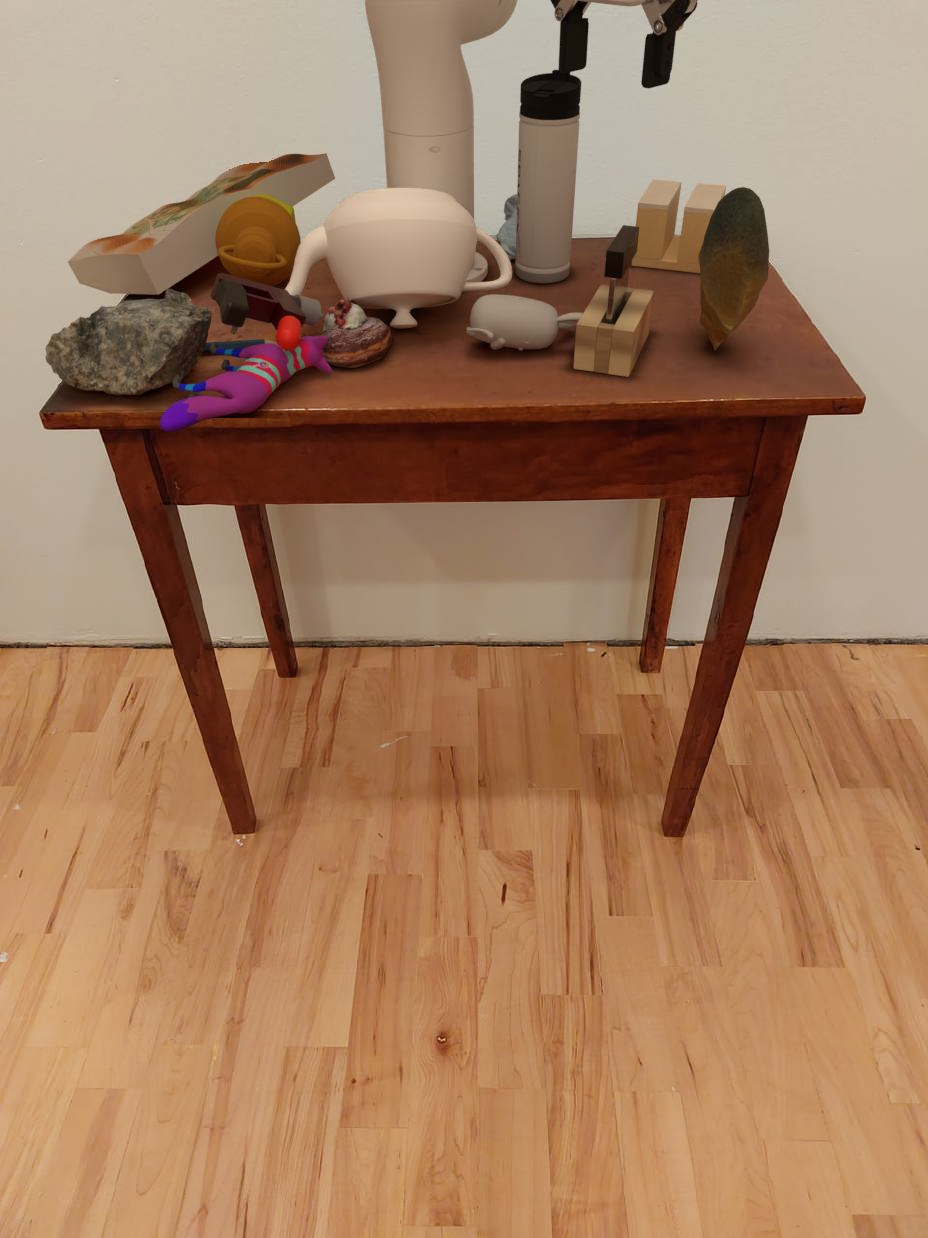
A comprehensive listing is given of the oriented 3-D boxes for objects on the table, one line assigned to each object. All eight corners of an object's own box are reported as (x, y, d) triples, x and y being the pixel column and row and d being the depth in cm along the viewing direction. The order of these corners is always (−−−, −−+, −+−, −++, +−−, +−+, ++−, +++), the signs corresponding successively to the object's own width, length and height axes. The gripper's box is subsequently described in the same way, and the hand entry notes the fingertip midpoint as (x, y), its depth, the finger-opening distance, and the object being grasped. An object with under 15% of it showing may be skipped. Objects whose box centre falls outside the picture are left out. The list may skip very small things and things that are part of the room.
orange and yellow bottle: (226, 248, 114) (202, 303, 94) (231, 169, 109) (207, 208, 89) (299, 262, 116) (292, 318, 95) (308, 185, 111) (301, 227, 91)
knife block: (628, 377, 86) (634, 331, 83) (572, 369, 88) (576, 323, 85) (648, 334, 93) (654, 290, 90) (596, 327, 95) (600, 283, 92)
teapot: (534, 180, 86) (537, 317, 89) (488, 218, 101) (492, 334, 103) (263, 173, 80) (275, 320, 83) (256, 214, 95) (266, 337, 97)
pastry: (322, 334, 94) (317, 285, 90) (396, 334, 94) (393, 285, 90) (310, 370, 88) (303, 319, 84) (388, 370, 88) (385, 319, 84)
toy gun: (322, 295, 89) (303, 339, 92) (205, 262, 81) (189, 311, 84) (362, 348, 84) (341, 393, 86) (241, 318, 76) (222, 369, 78)
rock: (28, 269, 78) (78, 281, 88) (30, 387, 81) (78, 387, 91) (191, 286, 78) (224, 297, 88) (188, 404, 81) (220, 402, 91)
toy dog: (248, 346, 91) (343, 360, 89) (150, 444, 79) (257, 463, 77) (241, 310, 89) (339, 323, 86) (138, 406, 76) (248, 424, 74)
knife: (612, 367, 88) (624, 251, 81) (596, 365, 88) (606, 250, 81) (627, 337, 93) (639, 226, 86) (611, 335, 93) (622, 224, 86)
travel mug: (578, 267, 107) (591, 71, 94) (558, 287, 103) (569, 84, 90) (528, 259, 109) (535, 67, 96) (506, 279, 105) (510, 79, 92)
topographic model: (158, 294, 98) (135, 248, 95) (85, 292, 106) (61, 250, 103) (335, 178, 113) (320, 135, 110) (258, 185, 121) (242, 145, 118)
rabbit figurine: (469, 329, 86) (593, 347, 87) (473, 278, 87) (597, 297, 88) (460, 357, 92) (577, 374, 93) (465, 309, 93) (580, 326, 94)
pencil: (130, 354, 91) (283, 345, 92) (128, 358, 90) (282, 349, 91) (127, 346, 90) (281, 336, 91) (126, 350, 89) (281, 340, 91)
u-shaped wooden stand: (631, 265, 108) (638, 201, 103) (645, 240, 114) (653, 178, 109) (705, 274, 105) (715, 209, 101) (716, 247, 112) (726, 185, 107)
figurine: (570, 210, 115) (561, 164, 110) (560, 281, 110) (550, 237, 105) (510, 218, 118) (497, 173, 112) (498, 287, 113) (484, 244, 107)
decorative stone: (674, 330, 94) (697, 173, 84) (732, 328, 94) (762, 171, 84) (699, 374, 87) (728, 207, 77) (762, 371, 87) (799, 205, 77)
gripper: (518, -170, 75) (515, 71, 86) (692, -173, 65) (663, 99, 76) (580, -172, 78) (569, 59, 90) (753, -176, 69) (716, 84, 80)
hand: (612, 77), depth 83 cm, fingers open, 9 cm apart
